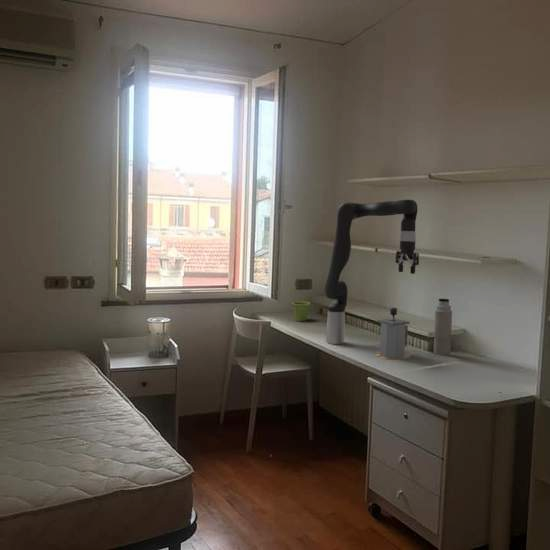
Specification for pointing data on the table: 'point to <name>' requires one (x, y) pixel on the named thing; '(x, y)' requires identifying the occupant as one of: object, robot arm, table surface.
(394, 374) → the table surface
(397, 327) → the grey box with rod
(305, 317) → the plant pot
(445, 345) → the thermos bottle
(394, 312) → the plunger
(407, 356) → the trivet
